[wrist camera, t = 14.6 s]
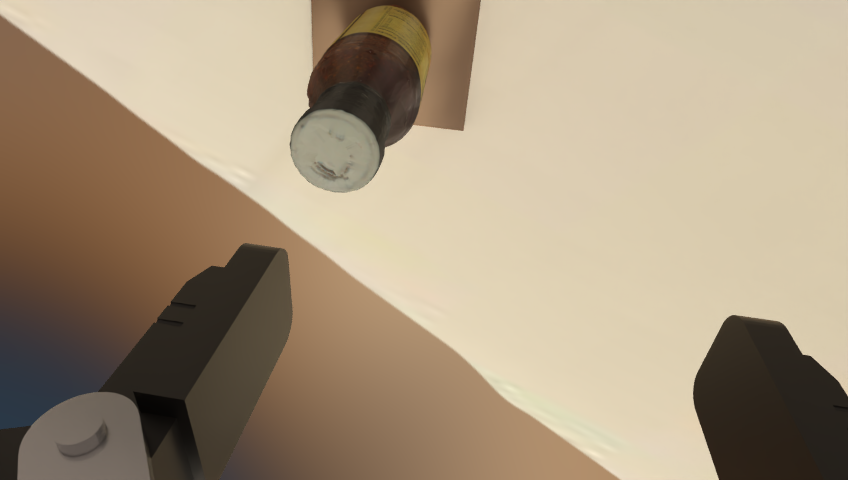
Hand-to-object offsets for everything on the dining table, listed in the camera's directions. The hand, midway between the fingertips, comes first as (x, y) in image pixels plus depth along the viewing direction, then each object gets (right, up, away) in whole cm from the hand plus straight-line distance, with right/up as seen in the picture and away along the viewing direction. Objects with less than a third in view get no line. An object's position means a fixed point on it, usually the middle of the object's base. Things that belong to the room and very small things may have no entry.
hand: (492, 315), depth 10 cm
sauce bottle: (-3, +16, +30) cm, 34 cm away
